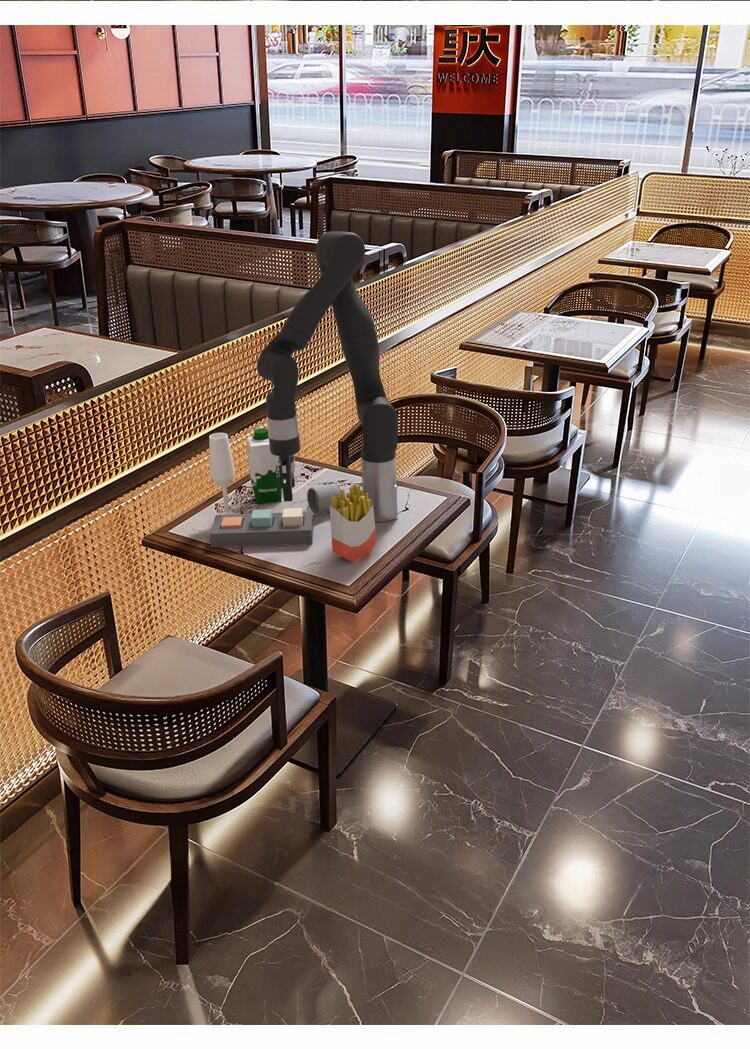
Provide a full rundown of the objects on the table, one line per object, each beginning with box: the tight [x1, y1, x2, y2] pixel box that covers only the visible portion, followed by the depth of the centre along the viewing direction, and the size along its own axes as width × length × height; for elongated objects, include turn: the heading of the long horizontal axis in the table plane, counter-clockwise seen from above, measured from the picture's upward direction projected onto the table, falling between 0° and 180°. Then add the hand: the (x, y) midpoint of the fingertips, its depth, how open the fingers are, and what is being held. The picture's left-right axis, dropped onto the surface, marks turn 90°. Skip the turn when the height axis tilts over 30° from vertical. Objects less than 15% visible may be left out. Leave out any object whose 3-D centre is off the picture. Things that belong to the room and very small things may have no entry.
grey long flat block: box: [209, 510, 315, 548], centre depth 226 cm, size 26×11×4 cm, turn 92°
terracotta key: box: [221, 517, 243, 529], centre depth 225 cm, size 5×5×3 cm
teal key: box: [251, 508, 274, 528], centre depth 224 cm, size 5×5×3 cm
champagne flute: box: [208, 432, 238, 515], centre depth 232 cm, size 7×7×24 cm
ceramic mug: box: [306, 483, 342, 516], centre depth 239 cm, size 11×8×8 cm
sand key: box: [282, 507, 304, 526], centre depth 224 cm, size 5×5×3 cm
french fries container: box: [329, 483, 377, 563], centre depth 211 cm, size 5×11×18 cm, turn 133°
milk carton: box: [247, 427, 283, 505], centre depth 244 cm, size 9×9×20 cm
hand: (289, 493), depth 217 cm, fingers open, 8 cm apart
